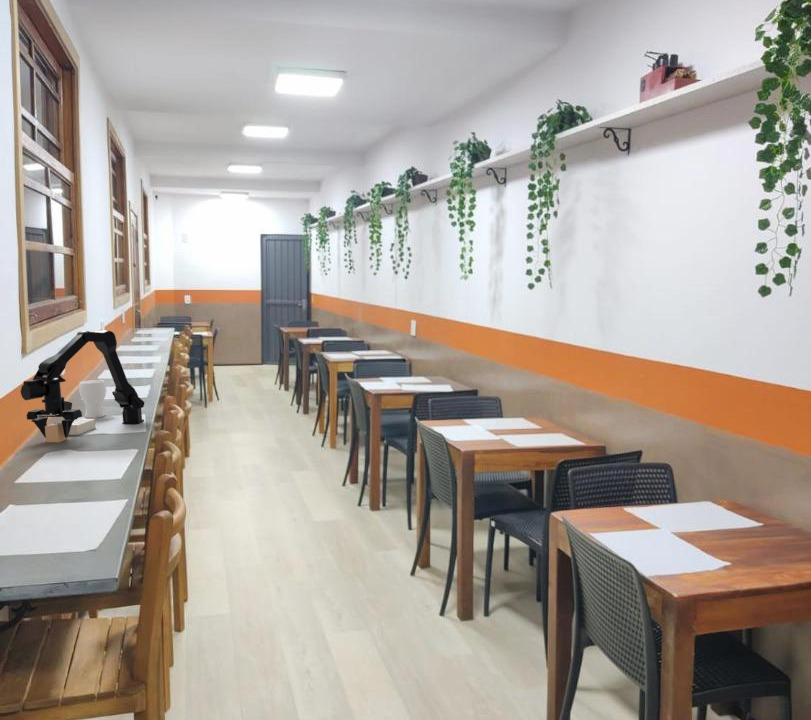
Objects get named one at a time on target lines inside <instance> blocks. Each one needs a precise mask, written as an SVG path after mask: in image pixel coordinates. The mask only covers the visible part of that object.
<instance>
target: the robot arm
mask: <svg viewBox="0 0 811 720" xmlns="http://www.w3.org/2000/svg"><path fill="white" fill-rule="evenodd" d="M117 341H118V340H117V337H116V335H115V332H113V331H111V330H96V331H89V330H80V331H78V332H77V333H76V335H75V336H74V337H72V338H71V340H70V341H68V342H67V344H65V345H64V347H62V348H61V349H60V350H59V351H58V352H57V353H56V354H54V355H52V356H50V357H48V358H46V359H44V360H43V361H42V362H39V364H38V369H37V371H36V373H35V375H34V376H33V378H32V380H24V381H23V384H22V385H21V387H20V396H21V397H22V399H23V400H25V401H30V400H36V399H42V398H43V399H42V400H41V402H42V403H44V409H41V408H40V409H37V408H35V409H33V410H29V411H27V413H26V420H29V421H30V420H31V423H32V422H33V424H35V426H36V427H37V428H38V430H39V431H40V432H41V434H42V436H43V437H44V438H45V439H46V434H45V426H47V425H48V424H47V423H48V419H49V418H63V419H62V420H61V423H62V426H63V431H64V435H65V438H67V439H68V437H69V436H70V435H69V432H70V428H71V425H72V423H73V422H75V421H77V420H78V419H79V418H82V417H83V412H82V410H81V409H80V408H79V409H76V408H75V409H72V408H73V402H72V401H71V402H70V401H66V400H65V398H64V396H62V390H61V389H62V388H61V383H64V382H66V379H65V378H64V377H62V376H61V374H63V372H64V371H65V369H66V367H67V364H68V362H69V361H70V360H71V359H72V358H73V357H74V356H75V355H77V353H78V352H79V351H81V350H82V348H84V347H85V345H87V343H89V342H90V343H92V342H93V344H94V346H95V348H96V349H97V350H98V351H99V352H100V353H102V356H103V357H104V359H105V362H106V365H107V367H108V369H109V372H110V375H111V378H112V381H113V383H114V386H115V388H114V391H112V395H113V398H114V401H115V402H116V403H117V404H118V405H119V407H120V408H122V413H121V414H122V423H121V424H122V425H123V424H124V425H138V424H140V423H142V422H144V421H145V419H144V418H143V413H142V409H143V408H144V407H145V401H144V400H143V399H142V398H140V397H139V394H138V392H137V390H136V389H135V388H134V387H133V386H132V385H131V384H130V383H129V381H128V378H127V376H126V374H125V371H124V367H123V365H122V363H121V360H120V358H119V355H118V353H117V345H118V343H117Z"/></svg>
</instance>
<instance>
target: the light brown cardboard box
mask: <svg viewBox="0 0 811 720" xmlns="http://www.w3.org/2000/svg"><path fill="white" fill-rule="evenodd" d="M45 434H46V438H45V442H46V443H61V442H63V441H66V440H68V437H67V438H65V435H64V431H63V426H62V422H53V423H49V424H47V426H45Z"/></svg>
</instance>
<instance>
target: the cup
mask: <svg viewBox="0 0 811 720" xmlns="http://www.w3.org/2000/svg"><path fill="white" fill-rule="evenodd" d="M78 391H79V396H80V399H81V400H82V402H83V403H84V407H85V416H84V417H85V419H95V418H96V419H97V418H101V417H105V415H106V414H105V411H104V410H105V409H104V408H103V407H104V400H105V398H106V394H107V386H106V382H105V380H104V379H90V380H83V381H80V382H79V386H78Z"/></svg>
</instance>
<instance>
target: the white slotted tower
mask: <svg viewBox="0 0 811 720" xmlns="http://www.w3.org/2000/svg"><path fill="white" fill-rule="evenodd" d="M96 427H97V426H96V419H95V418H82V419H80V420H75V421H73V423H72V425H71V428H70V432H69V435H68V436H74V435H75V436H79V435H81V434H84V433H86V432H89V431H90V430H91V431H92V430H94V429H96Z"/></svg>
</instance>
